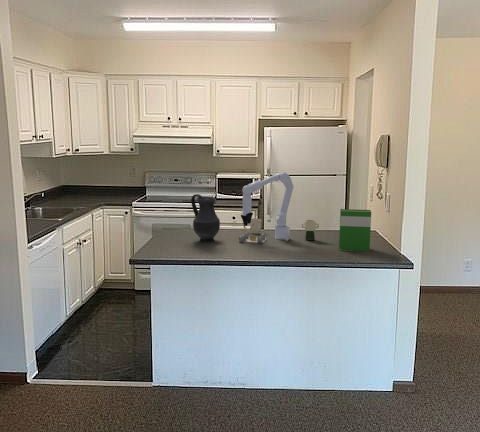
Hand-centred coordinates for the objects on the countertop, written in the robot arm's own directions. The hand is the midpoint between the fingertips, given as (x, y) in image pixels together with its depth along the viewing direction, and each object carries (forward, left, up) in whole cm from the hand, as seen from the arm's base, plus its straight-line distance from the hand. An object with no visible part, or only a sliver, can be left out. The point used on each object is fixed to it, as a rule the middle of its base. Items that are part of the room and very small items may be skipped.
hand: (247, 224), depth 327 cm
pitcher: (+26, +11, -10) cm, 30 cm away
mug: (+1, -18, -10) cm, 21 cm away
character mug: (-40, -9, -10) cm, 42 cm away
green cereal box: (-69, +9, -10) cm, 71 cm away
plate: (-5, +6, -10) cm, 13 cm away
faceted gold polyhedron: (-5, +5, -9) cm, 11 cm away
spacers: (-5, +6, -10) cm, 13 cm away
